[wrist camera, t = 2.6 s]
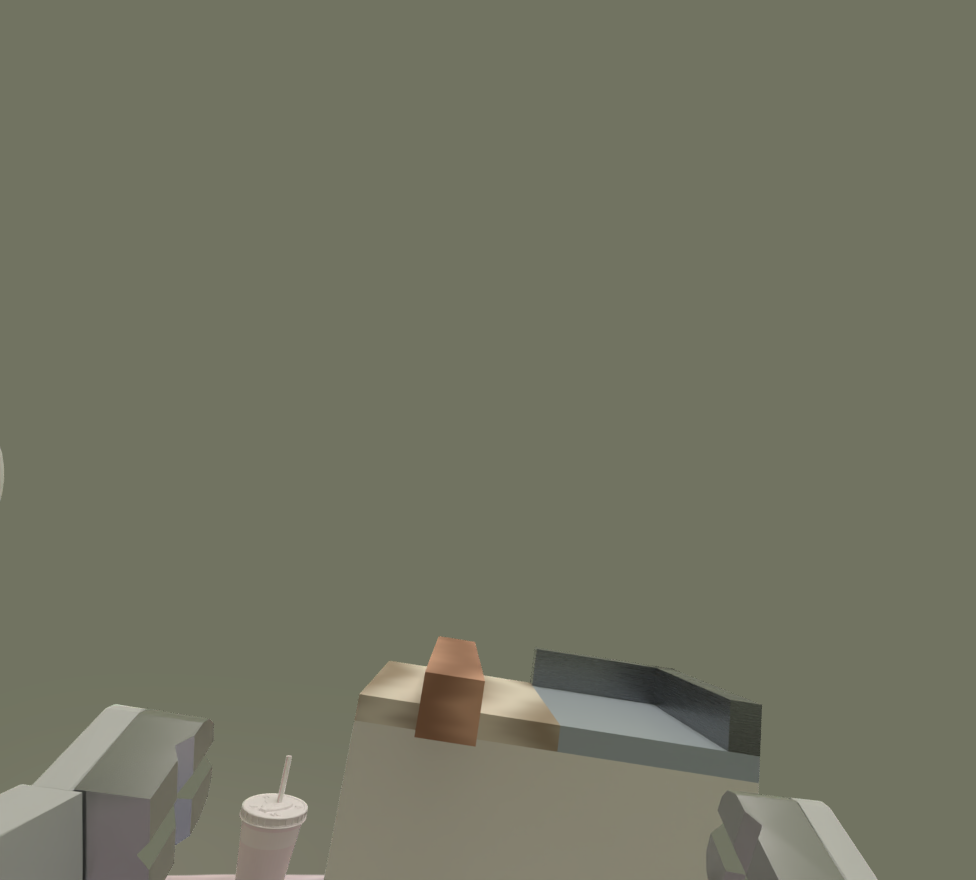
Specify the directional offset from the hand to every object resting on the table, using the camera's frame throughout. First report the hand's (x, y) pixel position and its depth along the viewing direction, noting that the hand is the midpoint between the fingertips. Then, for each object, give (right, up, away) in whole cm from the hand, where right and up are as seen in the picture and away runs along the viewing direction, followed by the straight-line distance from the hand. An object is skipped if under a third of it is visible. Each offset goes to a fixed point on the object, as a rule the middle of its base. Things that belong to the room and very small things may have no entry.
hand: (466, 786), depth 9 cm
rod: (-2, -11, +29) cm, 31 cm away
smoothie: (-22, -40, +47) cm, 65 cm away
